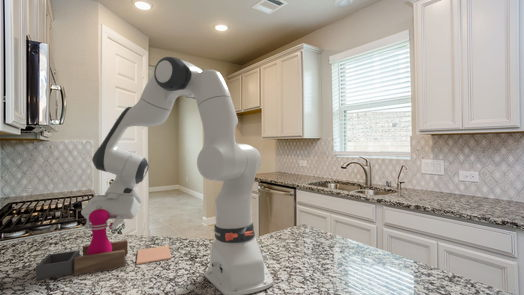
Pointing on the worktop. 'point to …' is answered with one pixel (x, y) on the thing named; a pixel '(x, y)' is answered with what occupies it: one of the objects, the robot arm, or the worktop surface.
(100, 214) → the pepper mill
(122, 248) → the walnut channel
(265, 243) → the worktop surface
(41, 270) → the box
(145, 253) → the terracotta board
